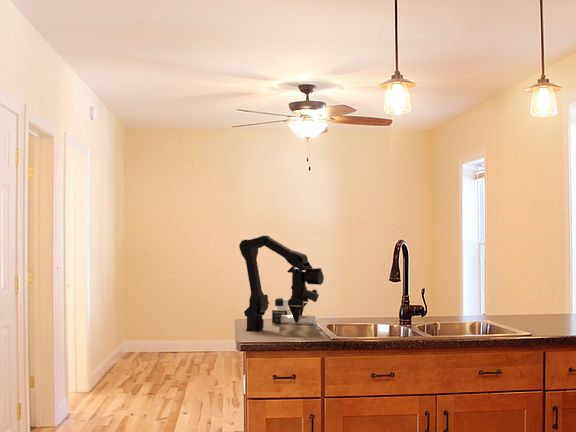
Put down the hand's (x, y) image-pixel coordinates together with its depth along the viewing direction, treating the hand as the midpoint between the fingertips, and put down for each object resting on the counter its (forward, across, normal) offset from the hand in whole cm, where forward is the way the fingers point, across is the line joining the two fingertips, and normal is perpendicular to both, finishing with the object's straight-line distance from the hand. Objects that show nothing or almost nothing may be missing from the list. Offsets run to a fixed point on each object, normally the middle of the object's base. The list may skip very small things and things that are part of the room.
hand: (298, 321), depth 286 cm
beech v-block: (+6, 0, 0) cm, 6 cm away
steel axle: (0, 0, 0) cm, 0 cm away
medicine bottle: (+6, +28, +12) cm, 31 cm away
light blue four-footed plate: (+6, +12, 0) cm, 13 cm away
